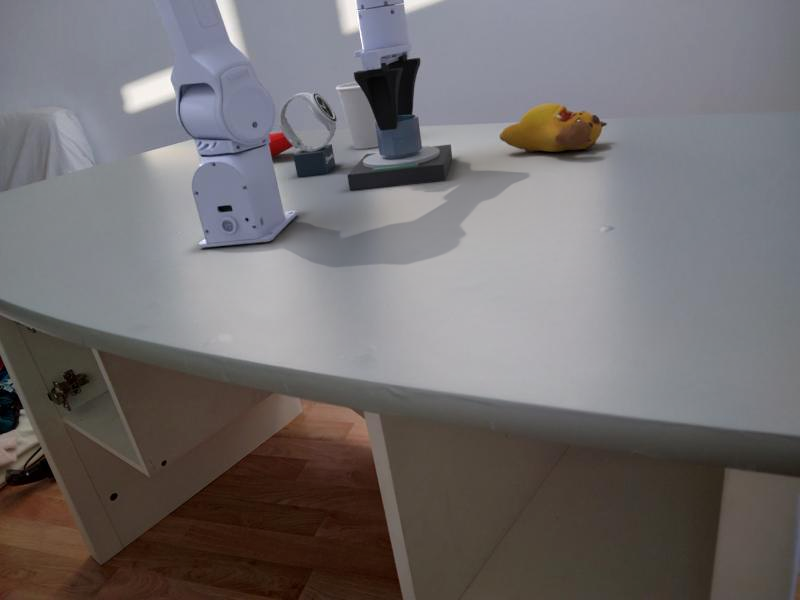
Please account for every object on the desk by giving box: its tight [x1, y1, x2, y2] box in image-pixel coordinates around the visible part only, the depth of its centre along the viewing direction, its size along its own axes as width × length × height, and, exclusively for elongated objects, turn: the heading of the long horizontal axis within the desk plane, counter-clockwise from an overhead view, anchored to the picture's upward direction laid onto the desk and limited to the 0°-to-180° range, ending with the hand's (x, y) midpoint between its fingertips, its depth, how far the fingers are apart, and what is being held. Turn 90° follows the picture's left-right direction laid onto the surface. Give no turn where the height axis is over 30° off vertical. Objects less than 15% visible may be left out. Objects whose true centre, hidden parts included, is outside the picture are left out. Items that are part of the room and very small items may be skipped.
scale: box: [346, 143, 453, 191], centre depth 84 cm, size 12×12×2 cm
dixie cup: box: [335, 81, 379, 150], centre depth 106 cm, size 8×8×10 cm
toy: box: [499, 102, 608, 153], centre depth 83 cm, size 11×6×15 cm
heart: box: [269, 131, 294, 159], centre depth 109 cm, size 12×4×10 cm
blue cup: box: [375, 113, 423, 159], centre depth 83 cm, size 6×6×5 cm
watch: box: [278, 91, 338, 178], centre depth 92 cm, size 6×8×11 cm
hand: (396, 123), depth 82 cm, fingers open, 7 cm apart
